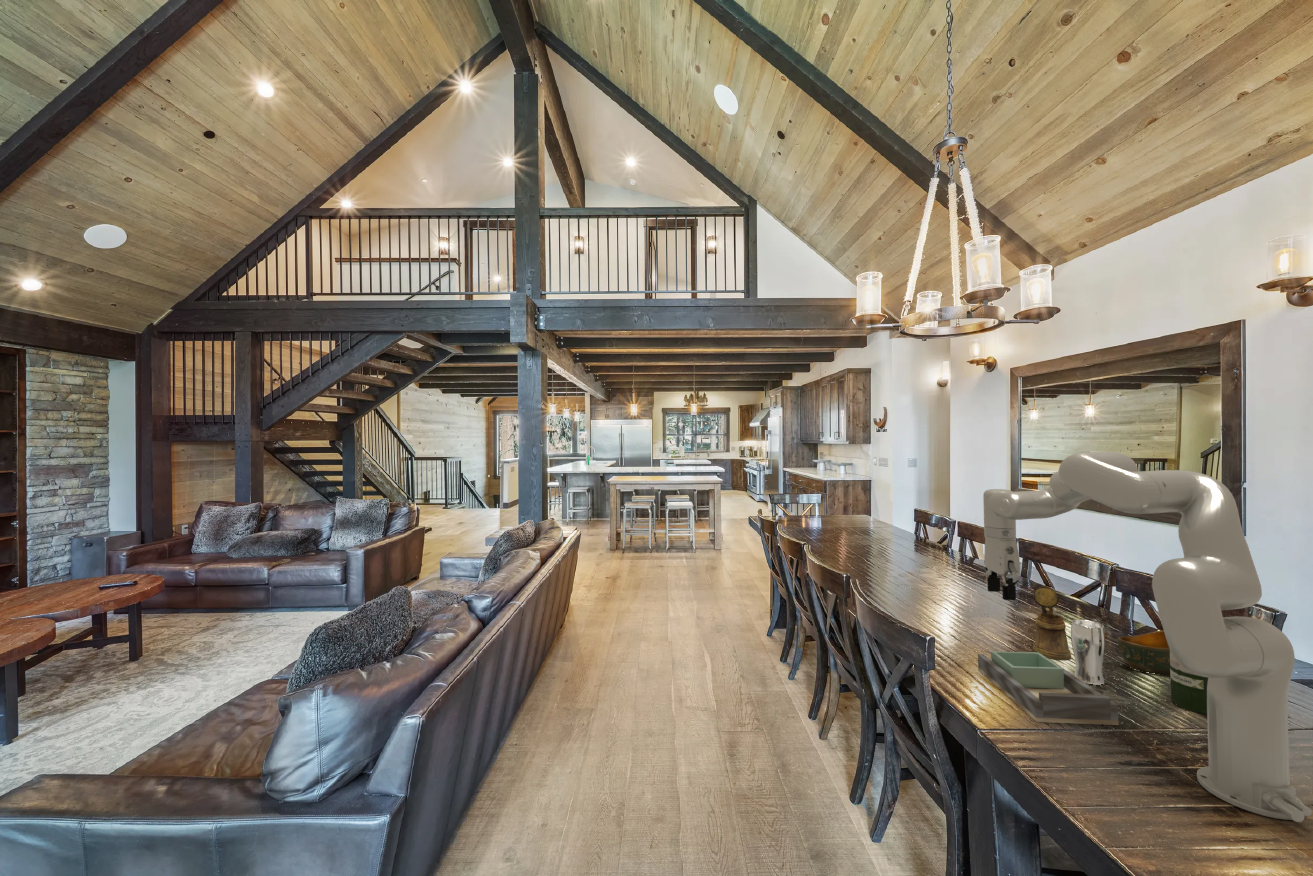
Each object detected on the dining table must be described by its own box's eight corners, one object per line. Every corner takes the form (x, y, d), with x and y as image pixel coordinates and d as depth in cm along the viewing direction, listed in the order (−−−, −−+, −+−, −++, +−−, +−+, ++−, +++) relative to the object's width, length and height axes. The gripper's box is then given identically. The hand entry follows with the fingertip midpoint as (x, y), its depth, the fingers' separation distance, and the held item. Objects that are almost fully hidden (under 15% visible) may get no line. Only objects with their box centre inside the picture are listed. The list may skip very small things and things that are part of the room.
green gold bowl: (1226, 688, 129) (1224, 647, 129) (1122, 672, 139) (1120, 635, 139) (1205, 668, 140) (1203, 631, 140) (1110, 655, 150) (1108, 620, 150)
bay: (1118, 725, 114) (1117, 698, 114) (1036, 721, 116) (1035, 695, 116) (1044, 672, 140) (1043, 650, 140) (978, 670, 142) (977, 648, 142)
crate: (1064, 688, 128) (1063, 669, 128) (1012, 687, 129) (1012, 667, 129) (1039, 670, 138) (1038, 652, 138) (991, 669, 139) (991, 651, 139)
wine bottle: (1163, 701, 123) (1160, 577, 123) (1182, 695, 126) (1178, 574, 126) (1208, 718, 116) (1204, 586, 116) (1226, 711, 119) (1223, 582, 119)
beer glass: (1113, 687, 130) (1111, 629, 131) (1082, 685, 132) (1080, 627, 132) (1095, 675, 137) (1094, 619, 137) (1066, 673, 139) (1064, 618, 139)
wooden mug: (1064, 645, 157) (1063, 587, 157) (1074, 662, 145) (1072, 599, 145) (1029, 640, 161) (1027, 583, 161) (1035, 656, 149) (1034, 595, 150)
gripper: (1032, 539, 136) (1034, 605, 136) (997, 527, 153) (998, 586, 153) (1002, 539, 137) (1004, 605, 136) (970, 527, 154) (972, 586, 154)
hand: (1001, 595), depth 145 cm, fingers open, 7 cm apart
